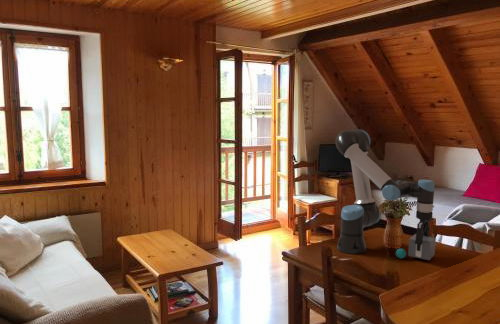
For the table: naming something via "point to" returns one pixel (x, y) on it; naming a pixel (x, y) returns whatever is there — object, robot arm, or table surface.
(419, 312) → the table surface
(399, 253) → the ball
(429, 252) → the dark grey block
